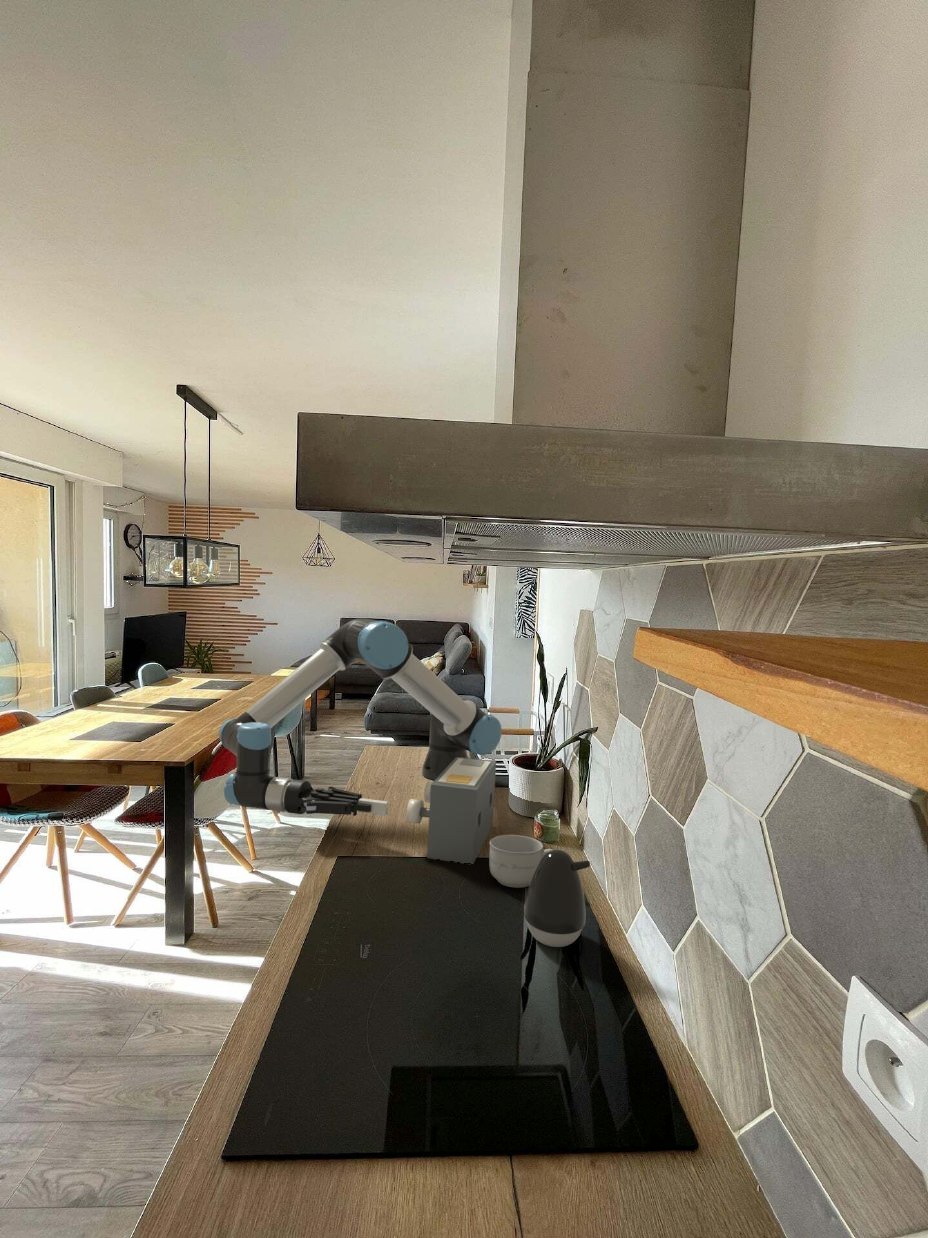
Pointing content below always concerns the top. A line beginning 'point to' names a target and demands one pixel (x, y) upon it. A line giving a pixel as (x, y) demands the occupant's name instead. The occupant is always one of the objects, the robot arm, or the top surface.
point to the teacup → (515, 859)
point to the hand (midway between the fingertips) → (386, 808)
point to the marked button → (416, 811)
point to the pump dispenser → (556, 900)
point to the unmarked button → (427, 792)
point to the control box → (461, 810)
